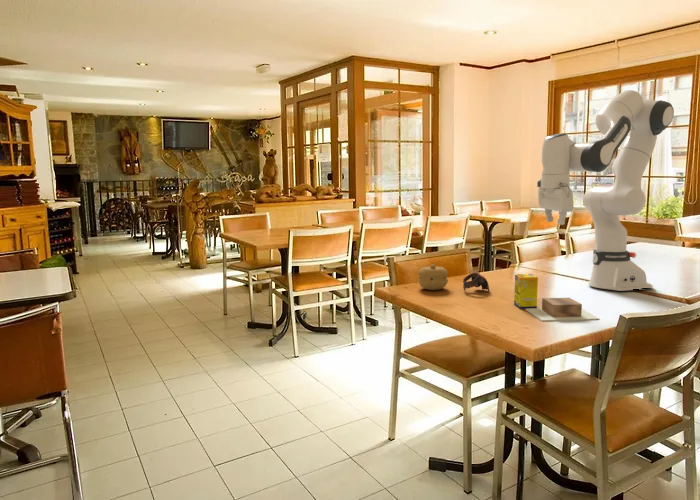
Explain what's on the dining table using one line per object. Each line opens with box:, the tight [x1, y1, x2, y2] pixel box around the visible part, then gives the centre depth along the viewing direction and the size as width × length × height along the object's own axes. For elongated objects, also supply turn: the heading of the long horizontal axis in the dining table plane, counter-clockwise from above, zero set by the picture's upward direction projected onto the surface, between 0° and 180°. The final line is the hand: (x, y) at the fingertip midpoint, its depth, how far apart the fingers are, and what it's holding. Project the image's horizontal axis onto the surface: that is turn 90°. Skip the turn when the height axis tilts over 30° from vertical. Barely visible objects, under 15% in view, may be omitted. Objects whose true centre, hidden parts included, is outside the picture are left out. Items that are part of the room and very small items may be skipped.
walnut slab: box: [541, 297, 583, 317], centre depth 169 cm, size 9×9×4 cm
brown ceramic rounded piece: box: [462, 271, 491, 293], centre depth 205 cm, size 12×9×8 cm
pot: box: [417, 264, 449, 291], centre depth 210 cm, size 12×12×10 cm
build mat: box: [525, 307, 600, 322], centre depth 169 cm, size 18×14×1 cm
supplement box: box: [513, 273, 539, 310], centre depth 179 cm, size 6×6×11 cm
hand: (555, 223), depth 180 cm, fingers open, 8 cm apart
